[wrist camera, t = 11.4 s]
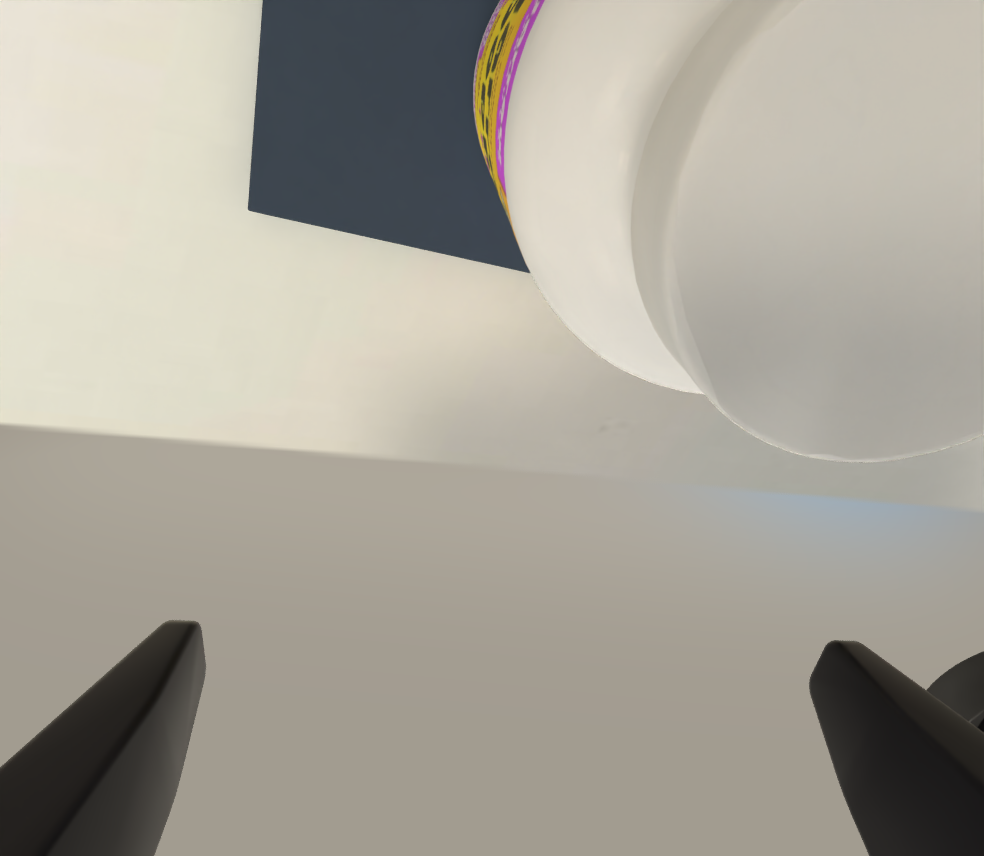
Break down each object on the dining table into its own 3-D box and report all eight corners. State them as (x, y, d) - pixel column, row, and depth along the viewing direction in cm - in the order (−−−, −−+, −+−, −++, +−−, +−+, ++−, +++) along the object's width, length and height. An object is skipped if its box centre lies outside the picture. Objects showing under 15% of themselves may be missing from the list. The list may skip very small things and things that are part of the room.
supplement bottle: (457, -60, 15) (526, -337, 4) (757, -86, 15) (1667, -422, 4) (482, 246, 18) (559, 577, 7) (727, 222, 18) (1177, 509, 7)
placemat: (987, -64, 16) (1006, -68, 16) (797, 327, 21) (806, 334, 20) (291, -315, 13) (285, -329, 13) (252, 205, 18) (247, 210, 17)
